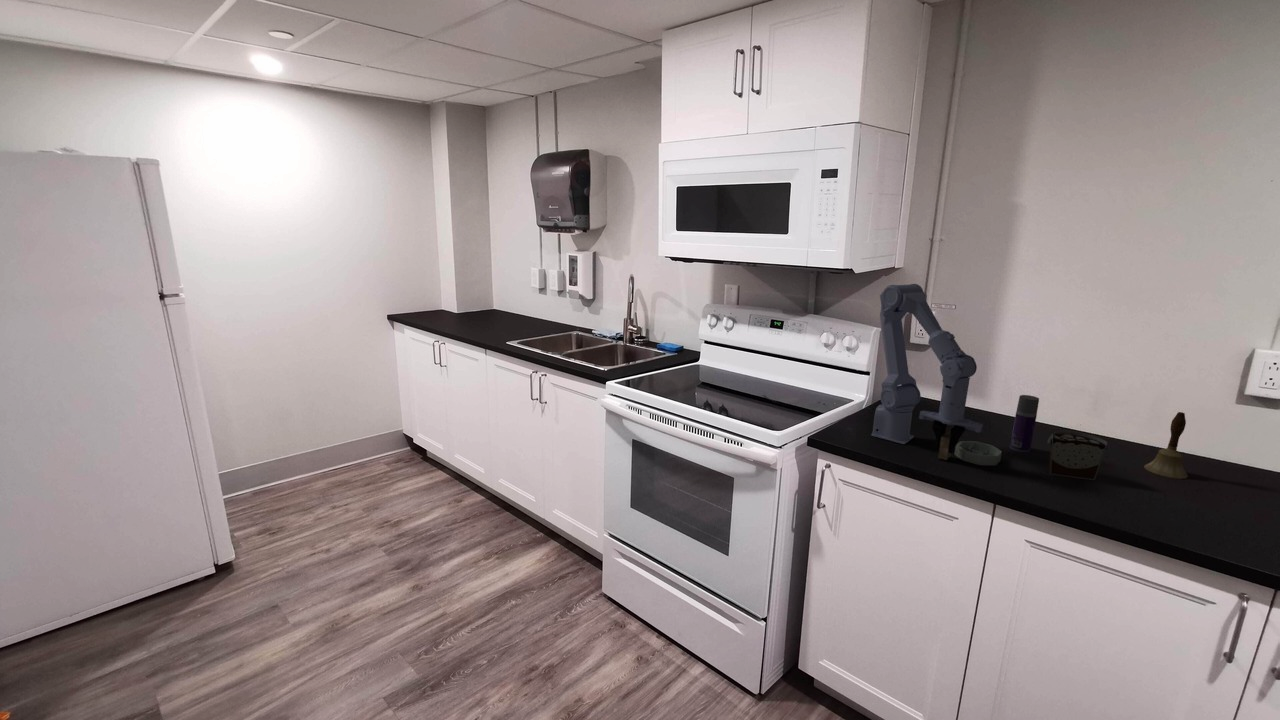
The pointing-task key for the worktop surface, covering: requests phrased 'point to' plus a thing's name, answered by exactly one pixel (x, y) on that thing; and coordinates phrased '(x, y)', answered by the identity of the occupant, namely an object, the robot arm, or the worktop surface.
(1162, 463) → the hand bell
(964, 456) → the grey shallow bowl
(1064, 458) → the food container
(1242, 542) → the worktop surface
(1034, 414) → the container
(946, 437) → the brown wooden block
